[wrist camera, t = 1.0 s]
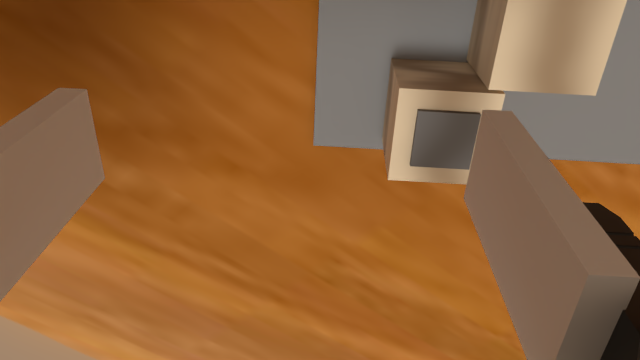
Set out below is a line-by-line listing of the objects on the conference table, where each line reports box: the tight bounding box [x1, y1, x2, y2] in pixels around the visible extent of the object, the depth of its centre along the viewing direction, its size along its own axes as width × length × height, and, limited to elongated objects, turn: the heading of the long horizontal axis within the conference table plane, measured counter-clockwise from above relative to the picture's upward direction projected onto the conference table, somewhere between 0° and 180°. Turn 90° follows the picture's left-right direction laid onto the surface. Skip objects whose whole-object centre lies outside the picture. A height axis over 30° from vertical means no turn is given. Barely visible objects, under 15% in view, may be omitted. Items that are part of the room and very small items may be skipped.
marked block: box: [382, 58, 505, 184], centre depth 32 cm, size 6×6×6 cm
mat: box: [314, 0, 640, 164], centre depth 32 cm, size 26×20×1 cm
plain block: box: [466, 0, 627, 96], centre depth 29 cm, size 6×6×6 cm
